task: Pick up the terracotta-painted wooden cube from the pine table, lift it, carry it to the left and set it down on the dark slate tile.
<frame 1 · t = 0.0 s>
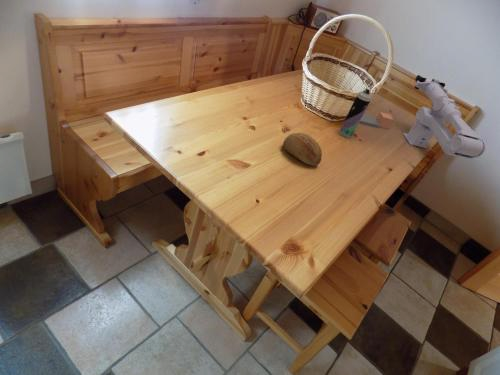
hand: (424, 79, 147), 22 cm above the table, tool horizontal, fingers open, 7 cm apart
spray can: (345, 134, 133), on the table
slate tile: (366, 120, 150), on the table
clay cube: (381, 125, 150), on the table
bread roll: (298, 157, 111), on the table
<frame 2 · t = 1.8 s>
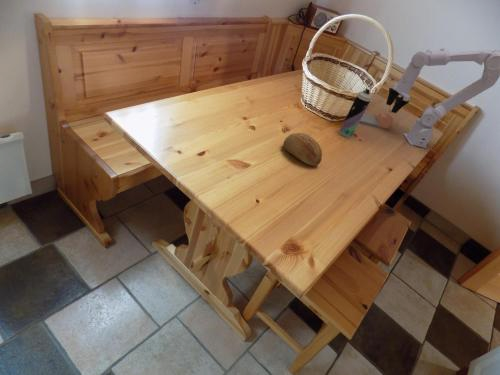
hand: (390, 108, 145), 9 cm above the table, tool pointing down, fingers open, 7 cm apart
nothing on the table moved.
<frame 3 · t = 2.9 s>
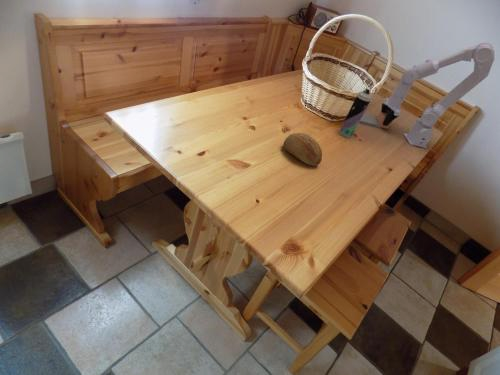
hand: (382, 122, 149), 1 cm above the table, tool pointing down, fingers closed on clay cube, 5 cm apart
clay cube: (381, 125, 150), on the table, touching gripper
everything else where it was.
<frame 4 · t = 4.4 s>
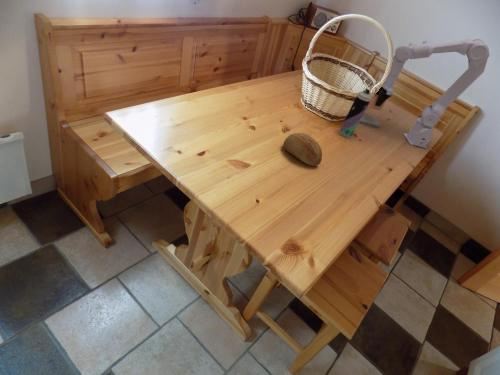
hand: (375, 103, 144), 9 cm above the table, tool pointing down, fingers closed on clay cube, 5 cm apart
clay cube: (373, 106, 145), point 7 cm above the table, touching gripper
everything else where it was.
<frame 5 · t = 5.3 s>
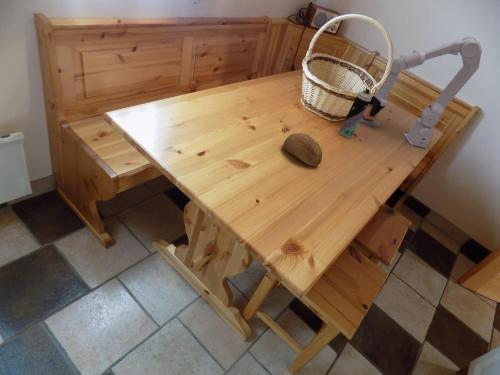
hand: (369, 113, 147), 4 cm above the table, tool pointing down, fingers closed on clay cube, 5 cm apart
clay cube: (368, 116, 148), point 2 cm above the table, touching gripper
everything else where it was.
when the fingers open (3 cm above the table, at t = 5.9 s): clay cube stays where it is, resting on slate tile.
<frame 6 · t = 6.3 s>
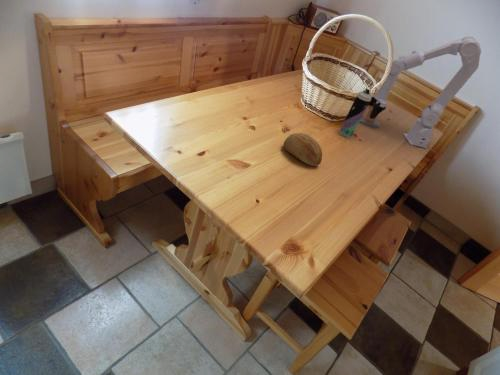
hand: (369, 114, 148), 3 cm above the table, tool pointing down, fingers open, 7 cm apart
clay cube: (367, 118, 149), point 1 cm above the table, touching slate tile
everything else where it was.
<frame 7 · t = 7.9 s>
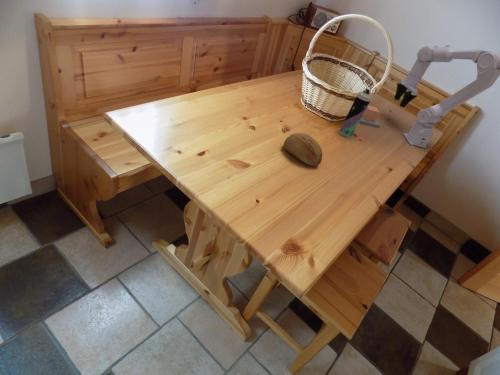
hand: (398, 103, 149), 10 cm above the table, tool pointing down, fingers open, 7 cm apart
nothing on the table moved.
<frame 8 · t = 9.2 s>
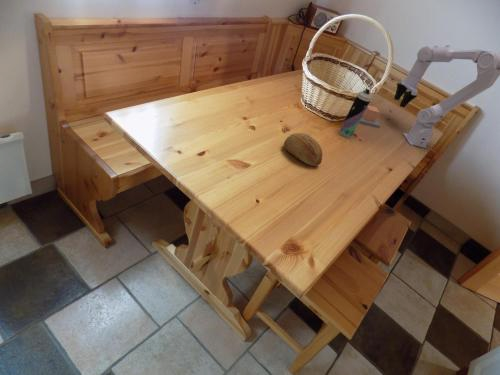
hand: (398, 103, 149), 10 cm above the table, tool pointing down, fingers open, 7 cm apart
nothing on the table moved.
at the end: clay cube inside the target area on the slate tile (0.1 cm from its centre), point 1.2 cm above the slate tile's base; clay cube tilted 0°; the gripper is holding nothing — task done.
